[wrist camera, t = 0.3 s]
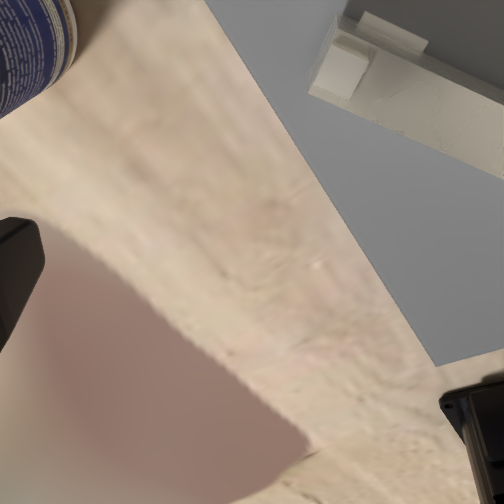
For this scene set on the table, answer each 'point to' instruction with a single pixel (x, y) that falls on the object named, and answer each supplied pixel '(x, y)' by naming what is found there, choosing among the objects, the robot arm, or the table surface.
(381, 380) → the table surface
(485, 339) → the dial plate
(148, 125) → the table surface
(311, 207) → the table surface
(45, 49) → the pill bottle
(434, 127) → the pointer
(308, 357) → the table surface
